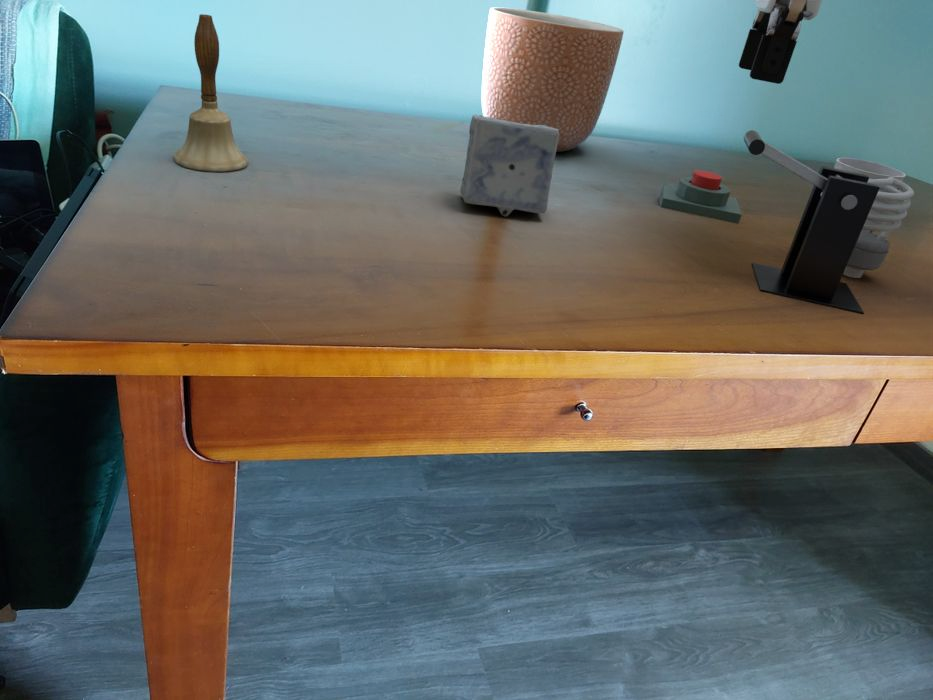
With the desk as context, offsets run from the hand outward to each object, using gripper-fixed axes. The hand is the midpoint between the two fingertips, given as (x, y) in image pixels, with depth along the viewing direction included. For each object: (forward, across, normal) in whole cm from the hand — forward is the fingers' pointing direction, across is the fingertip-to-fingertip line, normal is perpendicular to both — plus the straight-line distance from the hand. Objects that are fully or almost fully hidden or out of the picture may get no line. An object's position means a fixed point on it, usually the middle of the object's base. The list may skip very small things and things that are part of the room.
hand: (758, 75), depth 77 cm
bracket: (+19, -10, -10) cm, 24 cm away
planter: (+20, +37, +25) cm, 49 cm away
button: (+16, +14, 0) cm, 21 cm away
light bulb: (+19, -2, -16) cm, 25 cm away
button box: (+19, +14, 0) cm, 24 cm away
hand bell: (+20, -7, +58) cm, 62 cm away
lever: (+8, -10, -5) cm, 13 cm away
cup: (+19, +15, -19) cm, 31 cm away
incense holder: (+20, -1, +24) cm, 31 cm away
